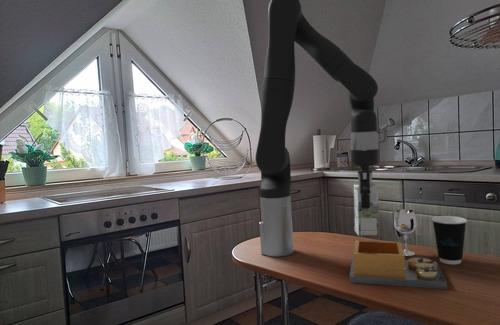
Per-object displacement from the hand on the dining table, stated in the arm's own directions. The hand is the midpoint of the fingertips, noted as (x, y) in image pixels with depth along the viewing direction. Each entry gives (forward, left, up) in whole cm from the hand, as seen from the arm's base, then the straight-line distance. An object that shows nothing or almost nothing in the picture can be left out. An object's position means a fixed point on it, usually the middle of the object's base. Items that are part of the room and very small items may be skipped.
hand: (365, 205), depth 102 cm
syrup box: (0, 0, -8) cm, 8 cm away
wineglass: (+10, 0, -14) cm, 17 cm away
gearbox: (+6, -17, -13) cm, 23 cm away
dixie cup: (+20, -5, -14) cm, 25 cm away
